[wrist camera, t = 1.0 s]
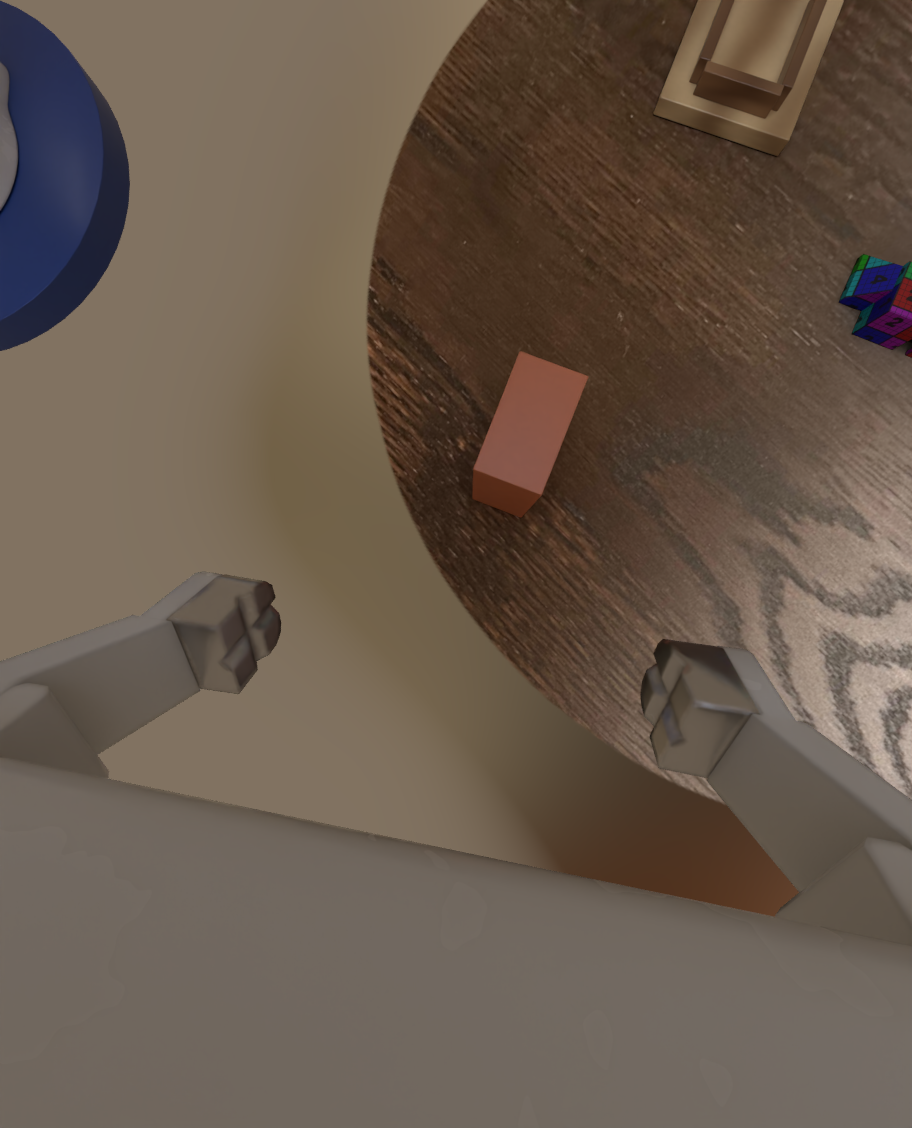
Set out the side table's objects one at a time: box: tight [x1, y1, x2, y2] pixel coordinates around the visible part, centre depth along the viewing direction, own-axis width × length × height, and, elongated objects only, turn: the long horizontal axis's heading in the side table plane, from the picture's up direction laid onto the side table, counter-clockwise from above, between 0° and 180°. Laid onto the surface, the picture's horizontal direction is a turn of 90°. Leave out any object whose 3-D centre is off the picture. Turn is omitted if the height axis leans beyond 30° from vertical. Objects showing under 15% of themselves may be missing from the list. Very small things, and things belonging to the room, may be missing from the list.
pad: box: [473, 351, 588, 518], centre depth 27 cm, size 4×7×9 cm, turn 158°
